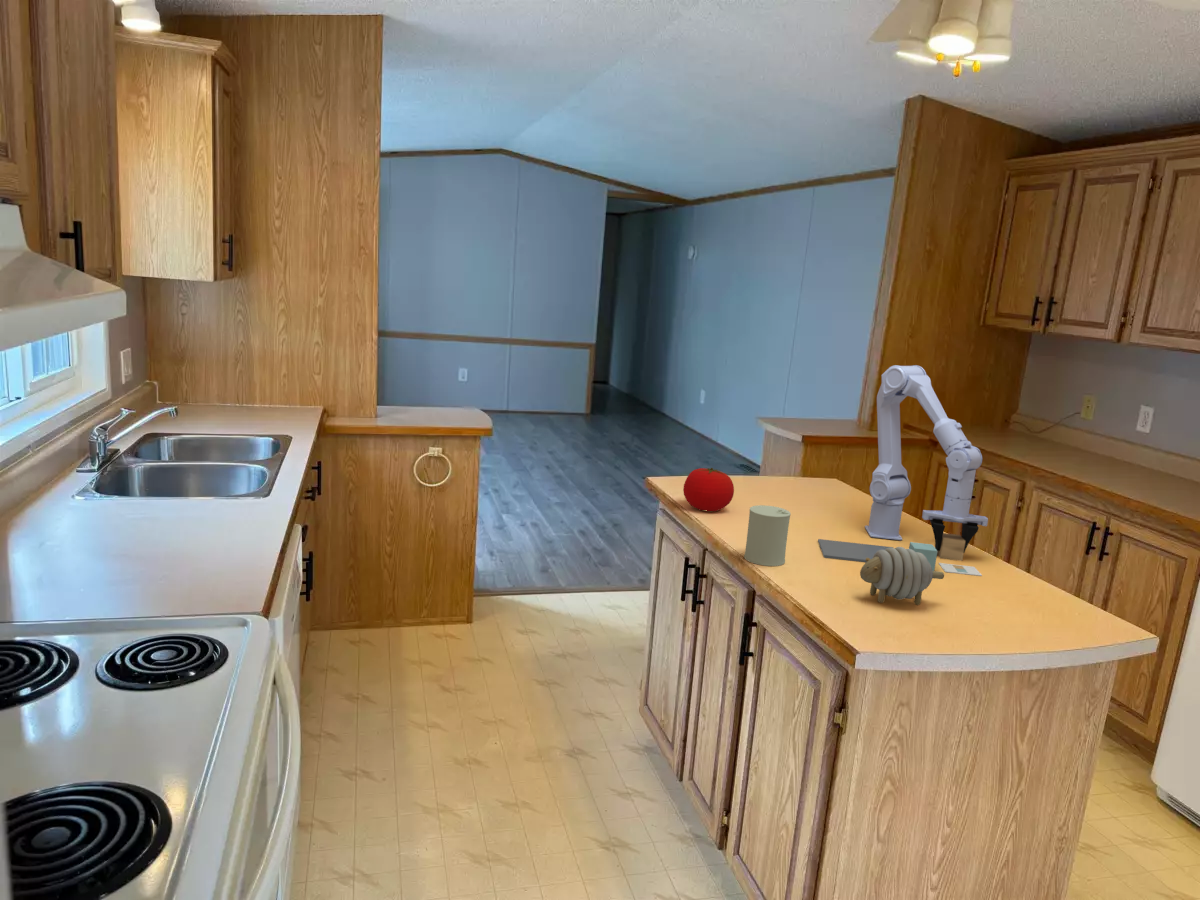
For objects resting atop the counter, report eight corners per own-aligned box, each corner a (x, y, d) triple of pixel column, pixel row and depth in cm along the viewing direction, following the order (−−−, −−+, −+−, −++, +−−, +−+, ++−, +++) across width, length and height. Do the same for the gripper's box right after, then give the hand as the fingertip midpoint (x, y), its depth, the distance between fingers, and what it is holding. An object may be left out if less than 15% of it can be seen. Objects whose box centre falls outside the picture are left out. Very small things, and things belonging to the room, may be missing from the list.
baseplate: (817, 541, 206) (818, 538, 206) (892, 549, 204) (893, 547, 204) (823, 557, 194) (824, 555, 194) (903, 566, 191) (904, 564, 191)
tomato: (673, 504, 232) (677, 463, 229) (714, 501, 238) (719, 462, 235) (697, 517, 220) (701, 474, 218) (740, 514, 226) (745, 472, 224)
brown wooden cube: (935, 552, 205) (938, 532, 204) (956, 554, 204) (959, 534, 203) (940, 558, 200) (943, 538, 199) (962, 560, 199) (965, 540, 198)
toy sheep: (847, 589, 174) (854, 538, 172) (924, 591, 176) (932, 541, 174) (868, 609, 164) (876, 555, 161) (949, 611, 165) (958, 558, 163)
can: (785, 568, 184) (791, 516, 182) (743, 563, 186) (749, 511, 183) (784, 556, 193) (790, 506, 190) (744, 550, 195) (750, 501, 192)
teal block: (906, 562, 195) (910, 542, 194) (929, 564, 194) (932, 544, 194) (911, 569, 190) (914, 548, 189) (934, 571, 190) (937, 551, 189)
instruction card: (938, 563, 196) (938, 562, 196) (974, 567, 195) (974, 566, 195) (945, 571, 190) (945, 570, 190) (981, 576, 189) (981, 575, 189)
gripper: (930, 497, 196) (922, 552, 199) (995, 503, 194) (985, 559, 197) (923, 490, 203) (915, 543, 206) (986, 496, 201) (977, 550, 204)
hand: (949, 550), depth 202 cm, fingers closed on brown wooden cube, 5 cm apart
